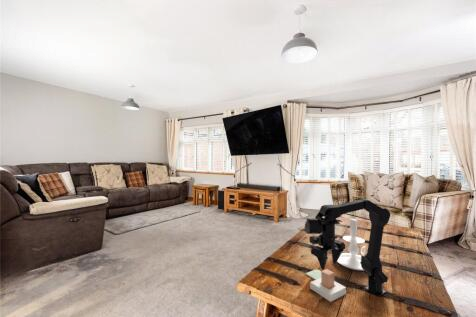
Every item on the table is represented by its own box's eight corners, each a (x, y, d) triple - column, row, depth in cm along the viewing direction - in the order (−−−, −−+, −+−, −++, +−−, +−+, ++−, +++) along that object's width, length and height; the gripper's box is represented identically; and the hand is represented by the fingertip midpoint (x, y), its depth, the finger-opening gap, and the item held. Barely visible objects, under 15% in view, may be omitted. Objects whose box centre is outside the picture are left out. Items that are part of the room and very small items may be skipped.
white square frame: (325, 281, 106) (325, 275, 106) (345, 293, 96) (345, 287, 96) (310, 288, 100) (310, 282, 100) (330, 301, 91) (330, 294, 91)
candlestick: (384, 266, 122) (384, 218, 122) (363, 279, 108) (363, 225, 108) (348, 253, 139) (348, 211, 139) (327, 263, 125) (327, 216, 125)
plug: (326, 287, 101) (326, 268, 101) (334, 292, 97) (334, 272, 97) (321, 290, 99) (321, 271, 99) (328, 294, 95) (328, 275, 95)
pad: (316, 269, 117) (316, 269, 117) (331, 277, 109) (331, 276, 109) (305, 274, 113) (305, 273, 113) (319, 282, 105) (319, 281, 105)
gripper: (324, 225, 109) (325, 255, 109) (301, 232, 99) (301, 265, 99) (345, 231, 100) (346, 263, 100) (322, 239, 90) (322, 275, 90)
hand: (328, 266), depth 97 cm, fingers open, 9 cm apart
